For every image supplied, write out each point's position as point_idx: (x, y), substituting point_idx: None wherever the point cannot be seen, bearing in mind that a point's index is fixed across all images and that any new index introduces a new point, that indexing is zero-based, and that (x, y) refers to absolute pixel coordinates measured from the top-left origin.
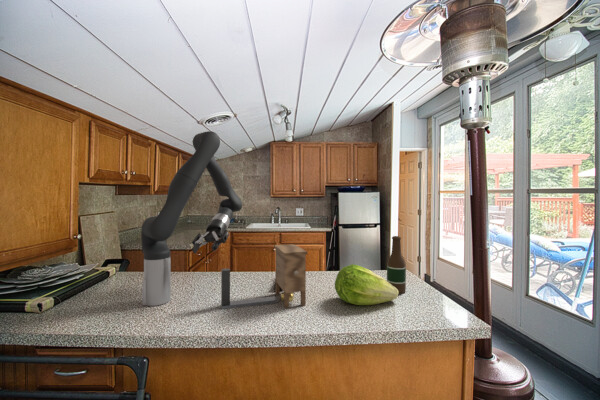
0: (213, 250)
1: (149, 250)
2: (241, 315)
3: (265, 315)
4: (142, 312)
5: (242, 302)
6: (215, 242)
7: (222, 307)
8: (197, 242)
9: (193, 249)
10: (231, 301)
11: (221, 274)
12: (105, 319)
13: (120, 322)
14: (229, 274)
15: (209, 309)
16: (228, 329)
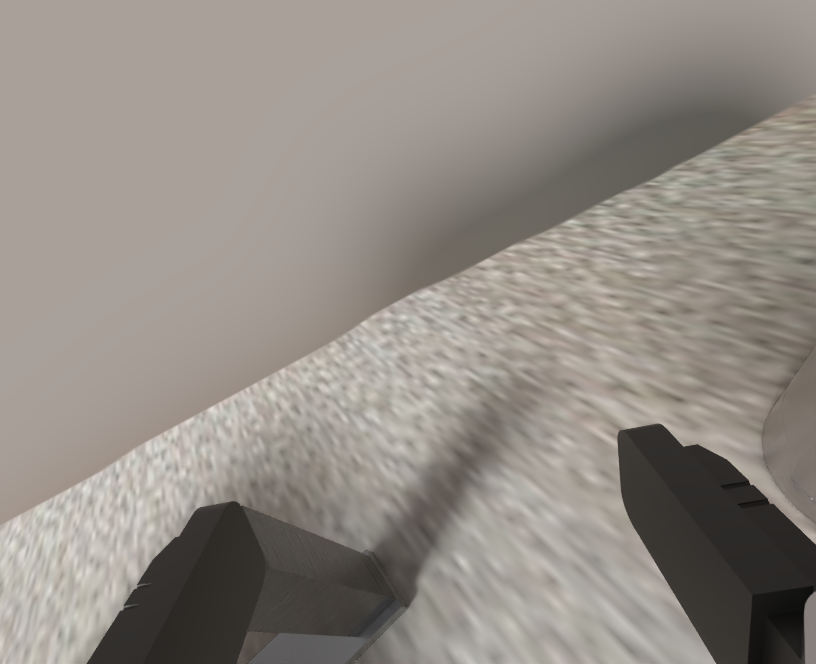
0: (250, 550)
1: None
2: None
3: None
4: (723, 328)
5: (280, 661)
6: (127, 621)
7: (365, 554)
8: (799, 630)
9: (623, 431)
10: (349, 649)
11: (272, 530)
12: (780, 215)
13: (677, 241)
14: None
15: (430, 520)
16: (261, 409)
